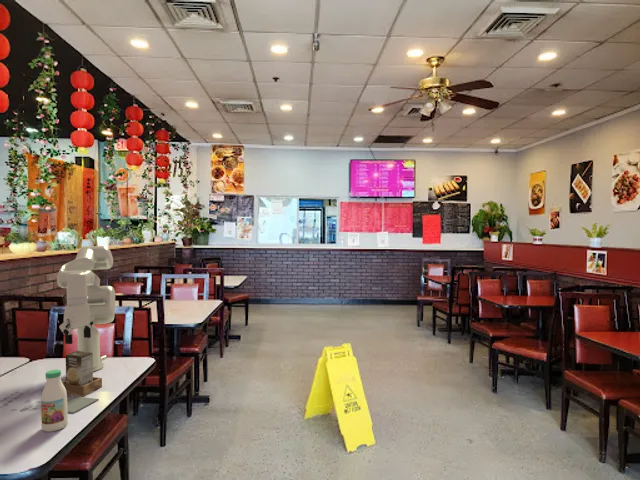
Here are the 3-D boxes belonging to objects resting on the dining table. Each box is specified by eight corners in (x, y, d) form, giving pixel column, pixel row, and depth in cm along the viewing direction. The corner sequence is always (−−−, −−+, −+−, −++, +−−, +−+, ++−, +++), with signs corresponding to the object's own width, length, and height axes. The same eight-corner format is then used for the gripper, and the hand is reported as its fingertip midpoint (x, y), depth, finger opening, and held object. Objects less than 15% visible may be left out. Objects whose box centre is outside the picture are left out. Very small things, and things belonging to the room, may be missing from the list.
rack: (77, 384, 184) (76, 375, 184) (102, 386, 181) (101, 377, 181) (57, 393, 174) (56, 384, 174) (83, 396, 171) (82, 386, 171)
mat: (74, 397, 170) (74, 396, 170) (98, 400, 167) (98, 398, 167) (48, 410, 158) (48, 408, 158) (73, 413, 155) (73, 412, 155)
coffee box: (65, 391, 176) (64, 354, 175) (78, 386, 182) (77, 350, 182) (81, 394, 173) (80, 356, 172) (94, 388, 179) (93, 352, 179)
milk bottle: (49, 422, 149) (48, 368, 148) (72, 421, 149) (70, 367, 148) (37, 433, 141) (35, 375, 140) (60, 432, 142) (58, 375, 141)
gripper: (86, 297, 185) (87, 335, 186) (52, 304, 169) (53, 345, 169) (99, 298, 184) (100, 335, 184) (67, 305, 167) (68, 346, 167)
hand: (78, 340), depth 177 cm, fingers open, 9 cm apart
